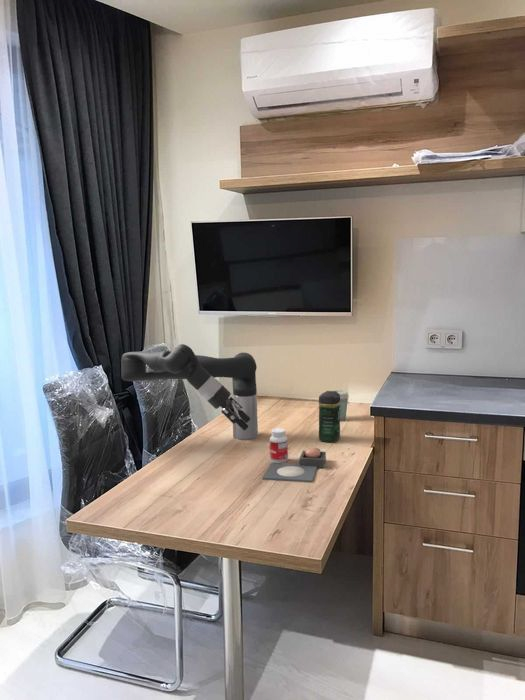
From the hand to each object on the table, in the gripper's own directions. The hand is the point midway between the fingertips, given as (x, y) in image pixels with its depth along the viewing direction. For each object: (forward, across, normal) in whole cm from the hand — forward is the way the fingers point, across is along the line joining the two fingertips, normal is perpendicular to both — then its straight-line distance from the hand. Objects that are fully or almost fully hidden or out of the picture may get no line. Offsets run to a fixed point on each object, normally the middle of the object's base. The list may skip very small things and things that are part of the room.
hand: (247, 424), depth 202 cm
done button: (+23, +2, +9) cm, 25 cm away
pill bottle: (+17, -1, -2) cm, 17 cm away
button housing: (+25, +2, +7) cm, 26 cm away
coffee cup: (+34, -51, +15) cm, 63 cm away
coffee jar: (+30, -24, +12) cm, 40 cm away
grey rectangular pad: (+20, +11, +1) cm, 23 cm away
